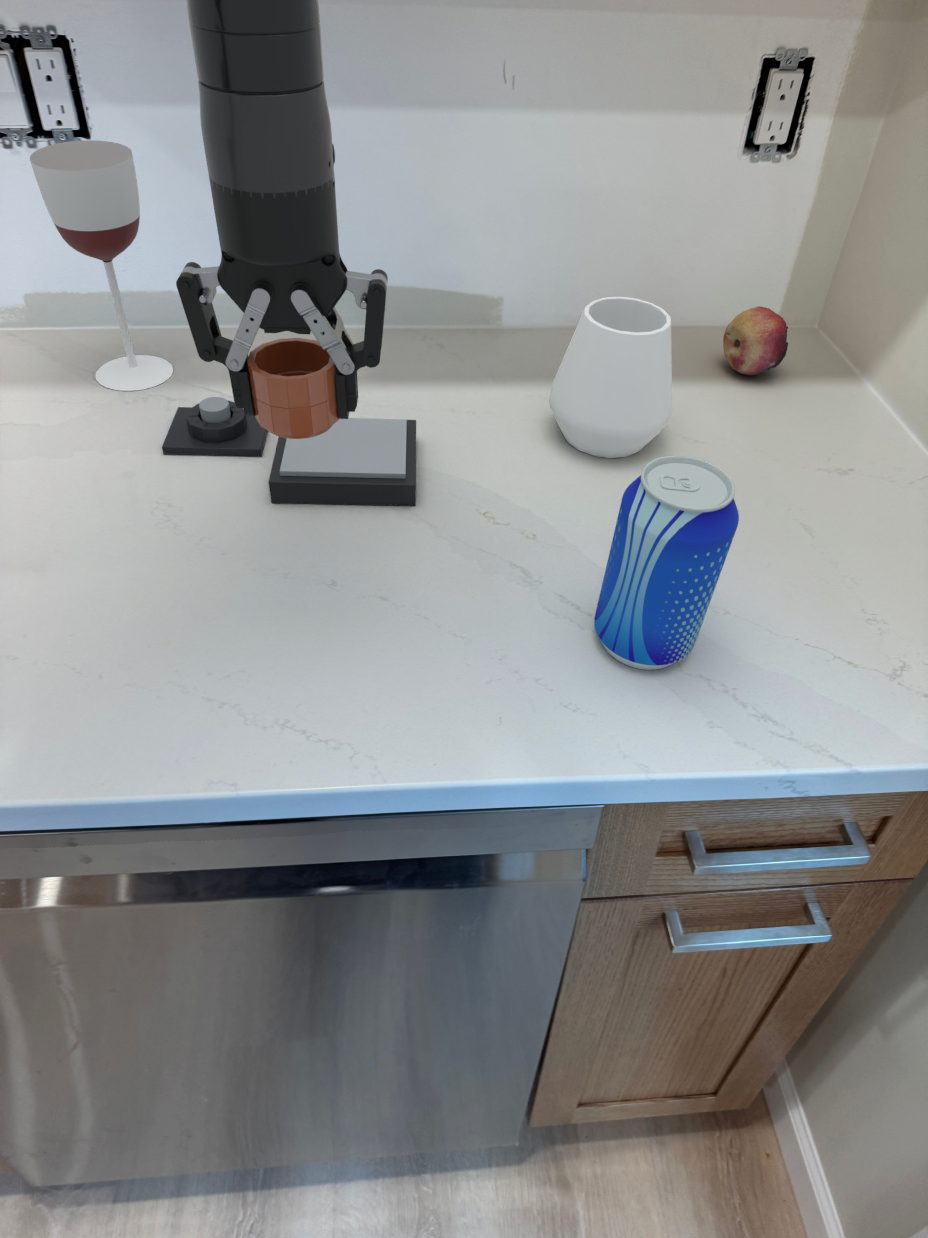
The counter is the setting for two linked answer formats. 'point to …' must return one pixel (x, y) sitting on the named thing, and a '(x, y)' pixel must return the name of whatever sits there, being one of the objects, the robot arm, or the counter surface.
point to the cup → (615, 378)
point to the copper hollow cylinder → (293, 387)
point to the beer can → (665, 561)
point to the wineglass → (99, 231)
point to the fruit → (755, 341)
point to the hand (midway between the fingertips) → (298, 411)
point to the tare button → (214, 410)
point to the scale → (348, 465)
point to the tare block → (214, 434)
